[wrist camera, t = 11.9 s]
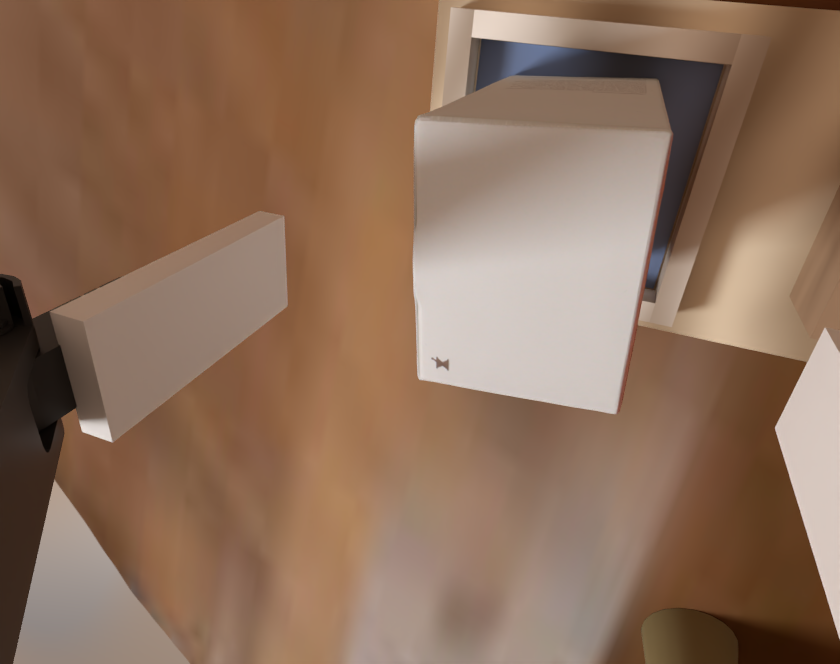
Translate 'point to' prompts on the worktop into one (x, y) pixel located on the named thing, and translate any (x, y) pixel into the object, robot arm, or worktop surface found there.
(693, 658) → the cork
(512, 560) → the worktop surface
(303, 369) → the worktop surface
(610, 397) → the small box
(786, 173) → the board
